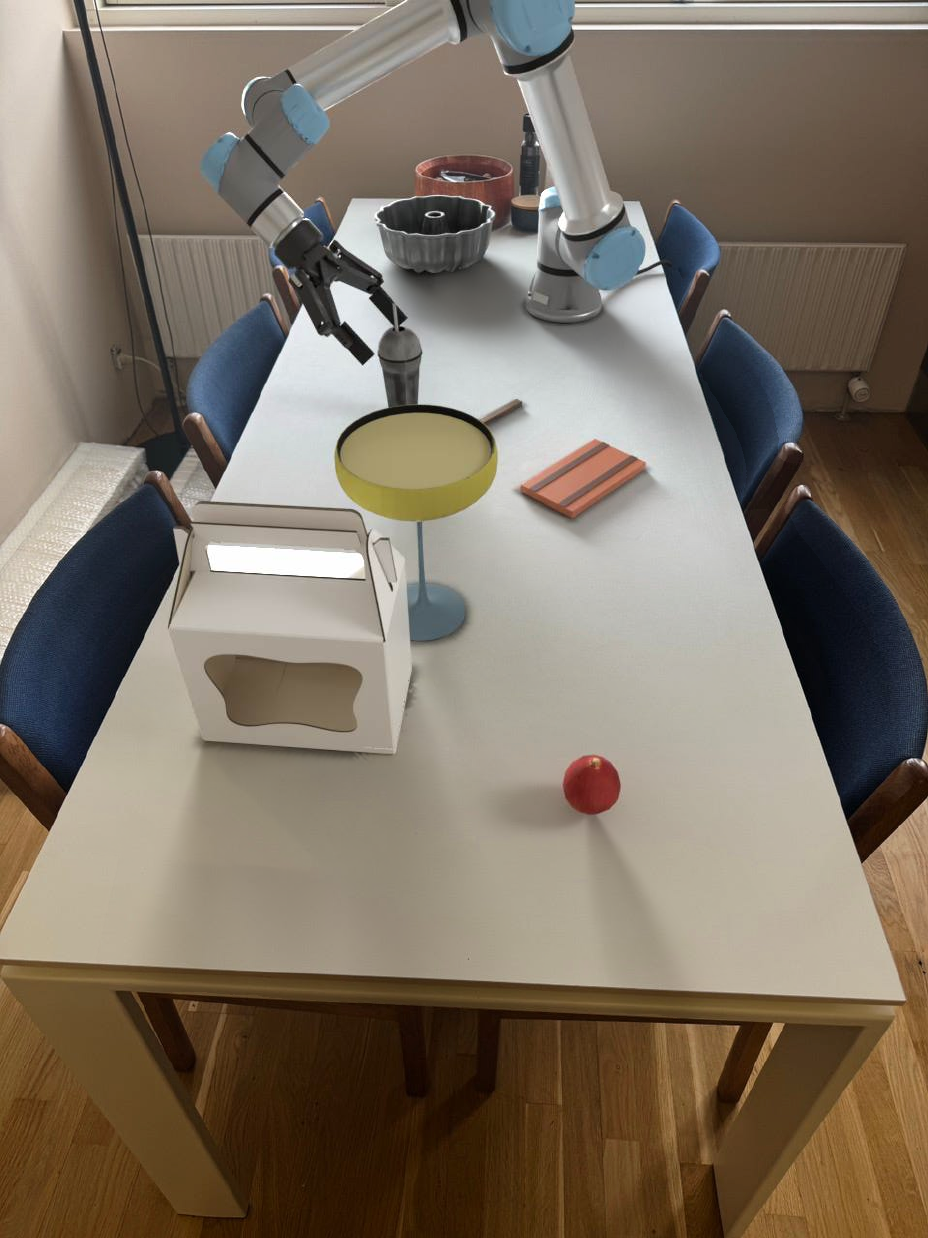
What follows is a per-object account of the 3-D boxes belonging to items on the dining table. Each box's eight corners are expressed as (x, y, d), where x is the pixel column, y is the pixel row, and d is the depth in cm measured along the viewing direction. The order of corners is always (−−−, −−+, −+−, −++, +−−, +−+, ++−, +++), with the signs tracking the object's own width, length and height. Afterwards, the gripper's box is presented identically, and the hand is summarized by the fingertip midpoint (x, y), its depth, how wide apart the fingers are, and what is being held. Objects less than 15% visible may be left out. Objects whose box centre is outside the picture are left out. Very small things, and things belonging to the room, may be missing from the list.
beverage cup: (431, 408, 154) (427, 294, 140) (415, 430, 149) (410, 313, 135) (391, 402, 155) (384, 288, 142) (375, 422, 150) (365, 306, 137)
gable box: (200, 741, 100) (137, 542, 81) (233, 657, 110) (184, 462, 91) (397, 755, 99) (380, 556, 80) (414, 669, 108) (402, 473, 89)
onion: (556, 786, 96) (561, 737, 90) (609, 782, 96) (618, 733, 90) (565, 832, 91) (571, 784, 86) (621, 828, 92) (630, 780, 86)
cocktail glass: (402, 552, 125) (392, 389, 108) (518, 595, 118) (526, 427, 101) (324, 630, 113) (299, 461, 96) (448, 682, 107) (444, 510, 90)
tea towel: (594, 445, 145) (595, 438, 144) (645, 468, 140) (646, 461, 139) (520, 491, 136) (520, 484, 135) (572, 518, 130) (572, 511, 130)
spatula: (507, 398, 156) (507, 394, 156) (531, 409, 153) (531, 405, 153) (420, 445, 145) (420, 441, 145) (444, 458, 142) (444, 453, 142)
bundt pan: (353, 258, 203) (349, 212, 196) (440, 229, 216) (439, 185, 209) (430, 293, 189) (428, 245, 182) (518, 260, 202) (520, 214, 195)
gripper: (311, 222, 148) (400, 322, 155) (235, 279, 131) (339, 389, 138) (338, 191, 143) (428, 296, 150) (262, 246, 126) (368, 362, 133)
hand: (386, 341), depth 144 cm, fingers open, 13 cm apart
